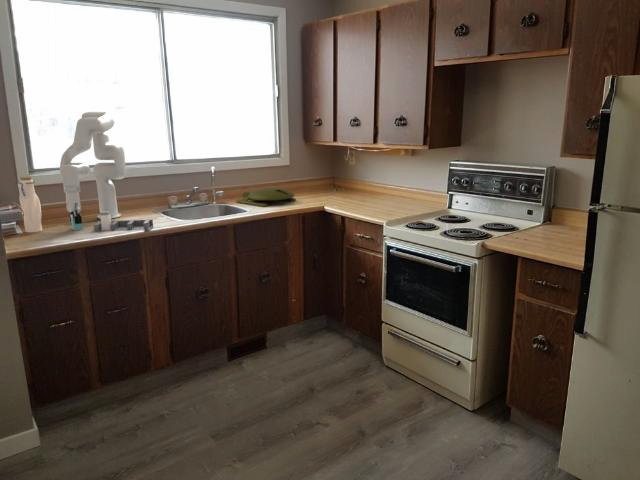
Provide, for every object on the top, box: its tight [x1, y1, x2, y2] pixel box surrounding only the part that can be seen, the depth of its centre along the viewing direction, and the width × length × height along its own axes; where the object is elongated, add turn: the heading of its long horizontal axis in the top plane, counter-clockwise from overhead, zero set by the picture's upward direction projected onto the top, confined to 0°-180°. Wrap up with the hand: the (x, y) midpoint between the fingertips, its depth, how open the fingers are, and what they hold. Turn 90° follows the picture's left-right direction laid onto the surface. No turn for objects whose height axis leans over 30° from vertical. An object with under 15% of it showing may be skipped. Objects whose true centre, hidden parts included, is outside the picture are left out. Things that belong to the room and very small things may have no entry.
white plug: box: [99, 211, 112, 230], centre depth 262 cm, size 4×4×9 cm
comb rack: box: [91, 218, 154, 233], centre depth 264 cm, size 12×28×4 cm, turn 98°
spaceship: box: [235, 187, 297, 208], centre depth 339 cm, size 35×31×10 cm
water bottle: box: [17, 176, 43, 233], centre depth 261 cm, size 10×9×28 cm
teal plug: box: [69, 213, 84, 231], centre depth 262 cm, size 4×4×9 cm
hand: (76, 222), depth 261 cm, fingers open, 9 cm apart
